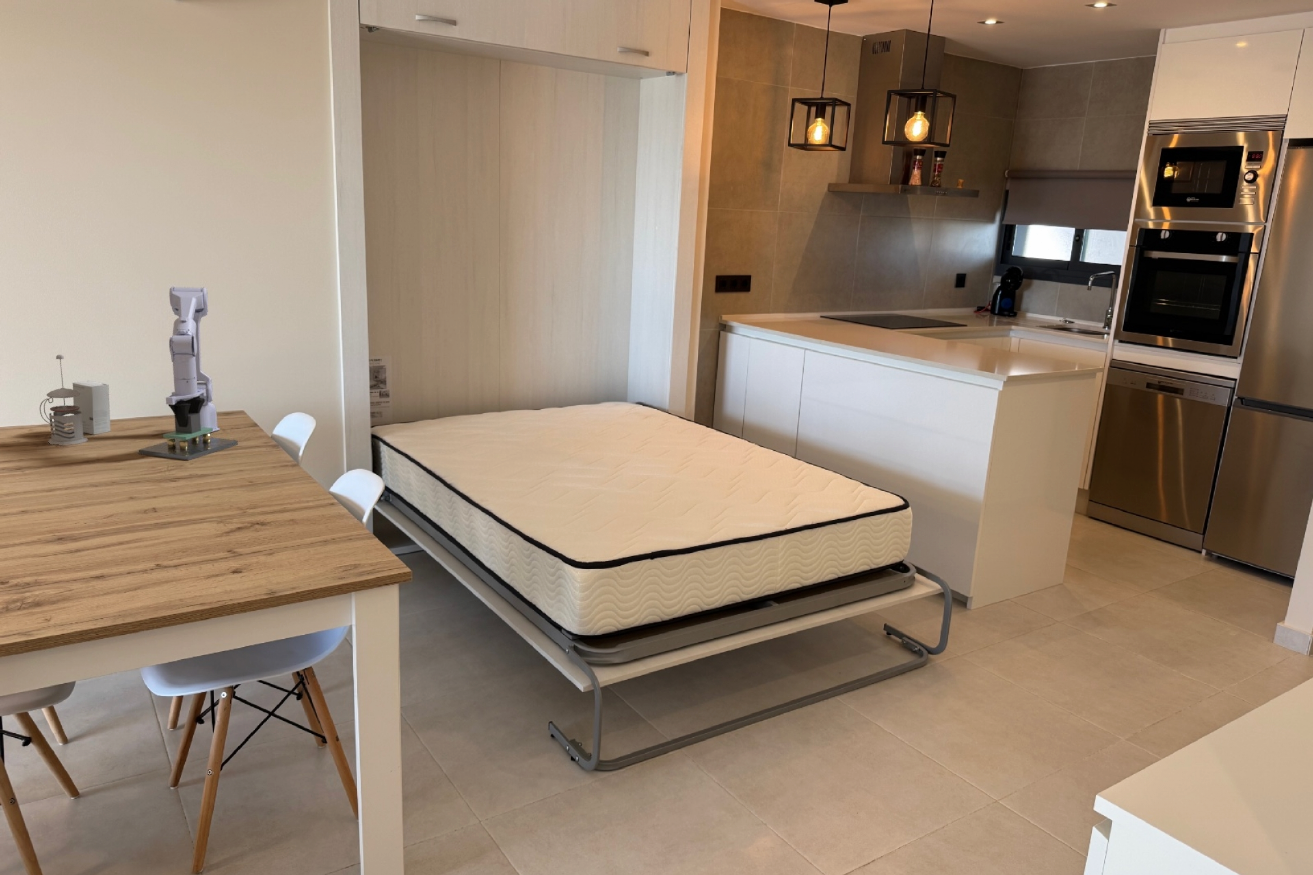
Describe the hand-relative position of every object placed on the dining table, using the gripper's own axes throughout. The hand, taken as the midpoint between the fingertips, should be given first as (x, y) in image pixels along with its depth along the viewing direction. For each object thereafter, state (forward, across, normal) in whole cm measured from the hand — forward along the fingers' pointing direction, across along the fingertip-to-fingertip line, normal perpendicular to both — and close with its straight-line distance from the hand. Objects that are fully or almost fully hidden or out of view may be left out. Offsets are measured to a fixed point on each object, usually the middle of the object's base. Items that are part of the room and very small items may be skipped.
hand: (188, 425), depth 255 cm
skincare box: (+7, -8, -37) cm, 39 cm away
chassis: (+7, 0, 0) cm, 7 cm away
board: (+3, 0, 0) cm, 3 cm away
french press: (+7, +4, -36) cm, 37 cm away
